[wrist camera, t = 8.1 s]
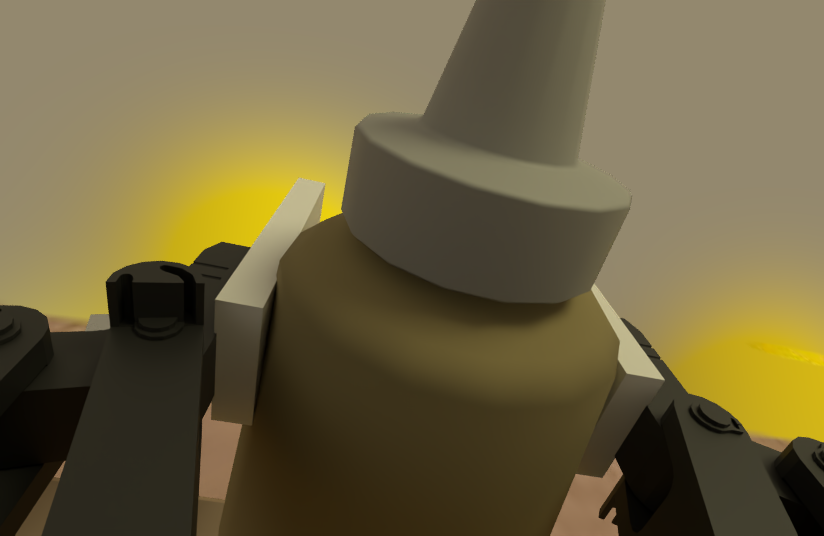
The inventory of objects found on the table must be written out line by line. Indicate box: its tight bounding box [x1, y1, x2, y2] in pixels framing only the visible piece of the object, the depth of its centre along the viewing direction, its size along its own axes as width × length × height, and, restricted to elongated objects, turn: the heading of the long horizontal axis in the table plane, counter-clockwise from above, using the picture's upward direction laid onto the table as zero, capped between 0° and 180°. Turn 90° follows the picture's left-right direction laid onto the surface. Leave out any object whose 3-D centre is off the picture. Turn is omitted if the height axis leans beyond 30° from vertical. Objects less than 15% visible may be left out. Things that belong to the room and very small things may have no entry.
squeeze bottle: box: [218, 0, 632, 536], centre depth 10 cm, size 8×8×18 cm
